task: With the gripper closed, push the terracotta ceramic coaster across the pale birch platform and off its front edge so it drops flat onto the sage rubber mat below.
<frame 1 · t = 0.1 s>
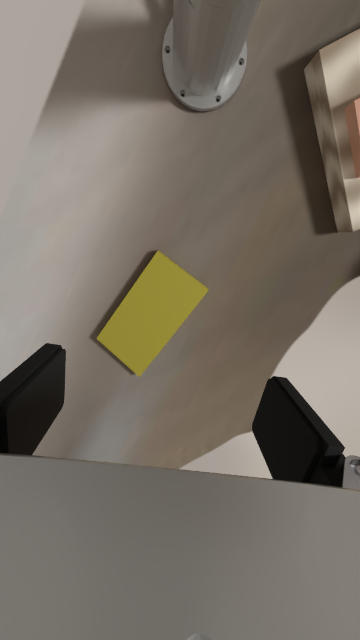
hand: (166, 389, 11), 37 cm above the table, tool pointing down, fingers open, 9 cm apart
flat olive board: (148, 315, 49), on the table
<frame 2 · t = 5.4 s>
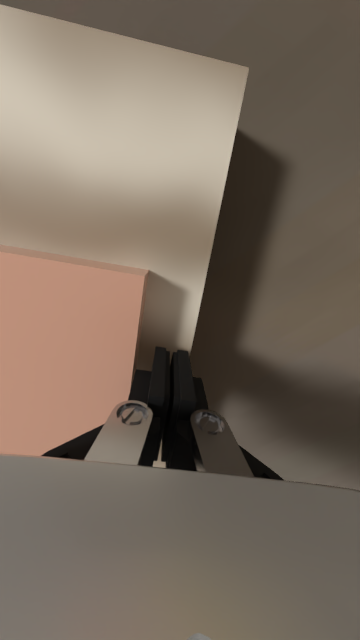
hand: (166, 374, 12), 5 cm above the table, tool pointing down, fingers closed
coaster: (38, 351, 12), point 4 cm above the table, touching gripper, platform
platform: (65, 325, 16), on the table
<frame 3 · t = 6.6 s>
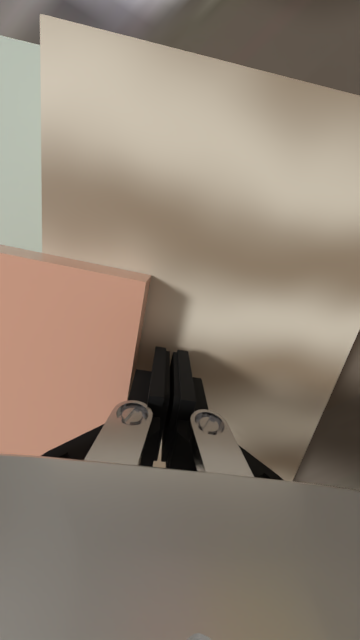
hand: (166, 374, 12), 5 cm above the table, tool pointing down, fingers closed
coaster: (38, 351, 12), point 4 cm above the table, touching gripper
platform: (190, 342, 17), on the table
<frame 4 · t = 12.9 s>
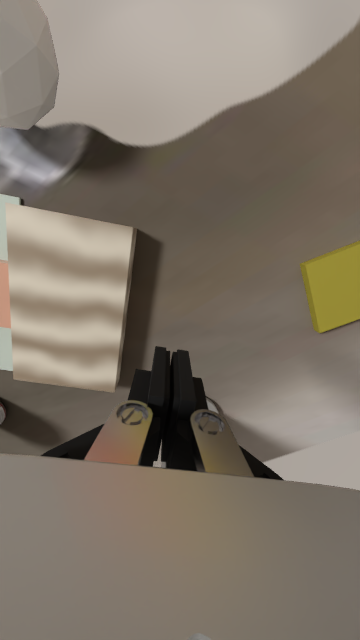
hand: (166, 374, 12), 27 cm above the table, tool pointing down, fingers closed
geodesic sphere: (22, 84, 29), on the table
platform: (77, 303, 38), on the table
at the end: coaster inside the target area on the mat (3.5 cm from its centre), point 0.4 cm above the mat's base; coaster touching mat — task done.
